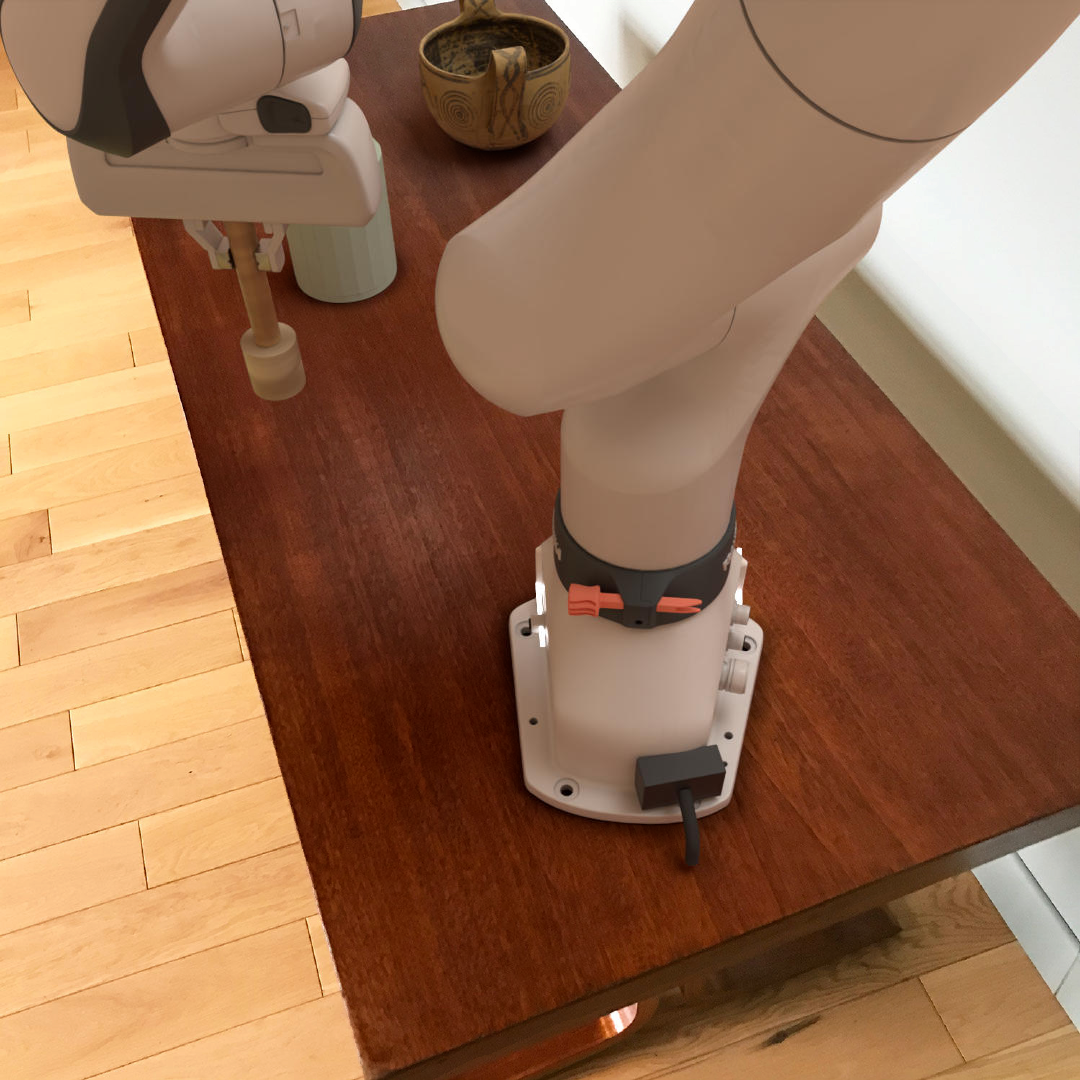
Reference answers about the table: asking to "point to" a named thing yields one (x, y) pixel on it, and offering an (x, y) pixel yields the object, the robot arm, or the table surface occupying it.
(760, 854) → the table surface
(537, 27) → the ceramic bowl
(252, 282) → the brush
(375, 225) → the pale green pen cup
